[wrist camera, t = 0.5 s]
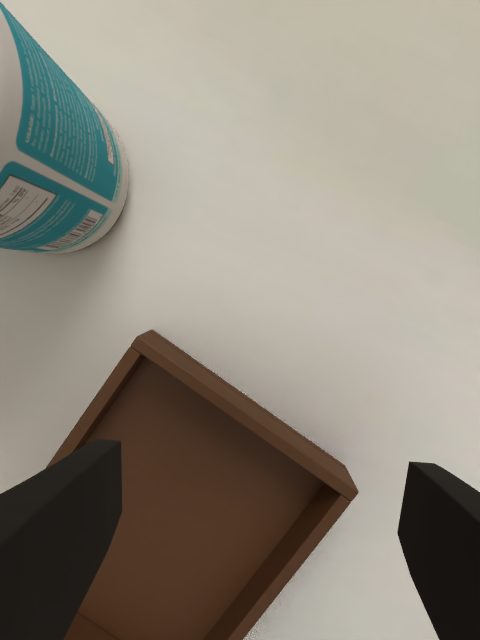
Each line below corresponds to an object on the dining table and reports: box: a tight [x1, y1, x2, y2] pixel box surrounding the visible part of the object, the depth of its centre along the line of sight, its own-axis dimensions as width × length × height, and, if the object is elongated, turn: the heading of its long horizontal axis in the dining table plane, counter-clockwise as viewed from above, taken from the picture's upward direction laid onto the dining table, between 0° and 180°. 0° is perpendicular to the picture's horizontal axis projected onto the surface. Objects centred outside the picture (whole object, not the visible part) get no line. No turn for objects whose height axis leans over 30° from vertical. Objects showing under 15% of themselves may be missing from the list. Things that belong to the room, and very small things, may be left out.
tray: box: [46, 330, 359, 640], centre depth 19 cm, size 15×12×3 cm
